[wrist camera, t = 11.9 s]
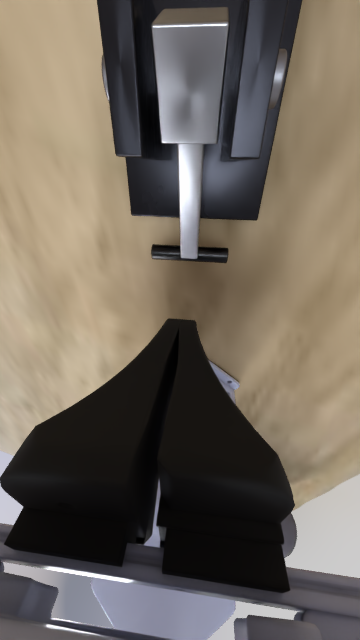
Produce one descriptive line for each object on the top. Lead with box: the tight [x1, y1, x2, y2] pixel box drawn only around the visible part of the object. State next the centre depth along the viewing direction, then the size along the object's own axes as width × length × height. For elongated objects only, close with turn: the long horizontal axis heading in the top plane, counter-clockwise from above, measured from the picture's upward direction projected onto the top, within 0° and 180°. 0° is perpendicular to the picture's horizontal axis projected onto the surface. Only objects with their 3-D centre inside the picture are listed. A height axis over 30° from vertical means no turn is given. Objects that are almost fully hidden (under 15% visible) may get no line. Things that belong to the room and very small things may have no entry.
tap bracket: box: [97, 0, 302, 220], centre depth 10 cm, size 11×9×9 cm
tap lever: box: [151, 7, 230, 263], centre depth 11 cm, size 10×5×2 cm, turn 178°
